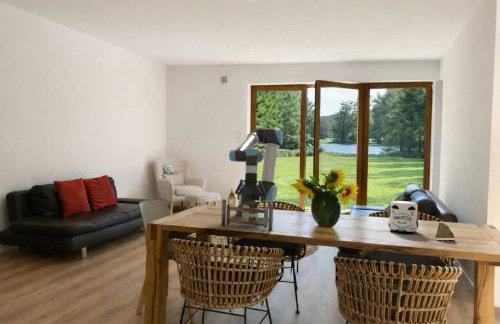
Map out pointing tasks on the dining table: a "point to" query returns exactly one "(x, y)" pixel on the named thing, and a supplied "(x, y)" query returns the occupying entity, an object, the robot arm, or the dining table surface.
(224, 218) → the gate posts
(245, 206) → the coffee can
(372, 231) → the dining table surface
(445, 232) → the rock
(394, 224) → the milk container
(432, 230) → the dining table surface
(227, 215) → the gate leaf
